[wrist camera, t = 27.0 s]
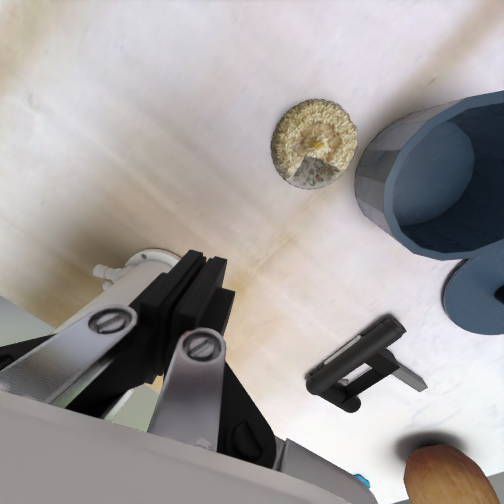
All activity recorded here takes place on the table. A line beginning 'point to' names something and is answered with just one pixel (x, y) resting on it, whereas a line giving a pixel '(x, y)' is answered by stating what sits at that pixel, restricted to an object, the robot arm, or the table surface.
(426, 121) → the pot
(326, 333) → the table surface
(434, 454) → the butternut squash
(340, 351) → the door handle
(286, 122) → the cake
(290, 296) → the table surface
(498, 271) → the pot lid
